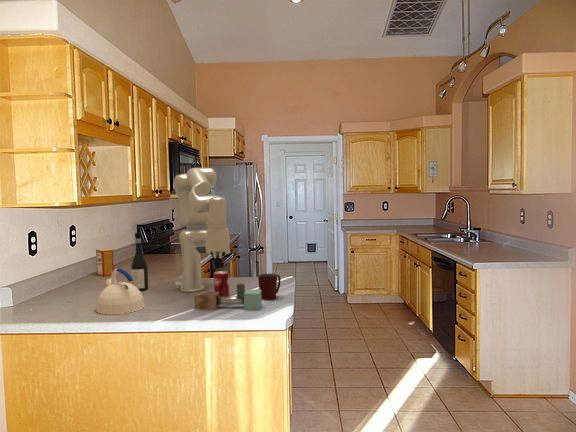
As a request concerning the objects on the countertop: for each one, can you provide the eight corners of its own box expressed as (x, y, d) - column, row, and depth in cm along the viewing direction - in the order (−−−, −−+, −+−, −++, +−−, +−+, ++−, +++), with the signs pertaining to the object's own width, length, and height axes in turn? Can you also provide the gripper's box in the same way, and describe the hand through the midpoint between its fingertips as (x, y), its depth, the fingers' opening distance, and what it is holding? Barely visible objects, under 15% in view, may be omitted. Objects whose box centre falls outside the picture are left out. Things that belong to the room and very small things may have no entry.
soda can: (217, 299, 214) (216, 274, 213) (212, 296, 220) (211, 271, 219) (231, 297, 217) (230, 272, 216) (226, 294, 224) (225, 270, 223)
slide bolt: (204, 305, 198) (203, 284, 198) (206, 303, 202) (205, 283, 201) (254, 305, 196) (253, 284, 196) (255, 303, 200) (254, 283, 199)
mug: (274, 294, 222) (273, 271, 221) (286, 297, 216) (285, 274, 215) (254, 298, 214) (254, 275, 213) (266, 301, 208) (266, 278, 207)
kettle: (128, 300, 216) (126, 263, 214) (153, 307, 202) (152, 267, 201) (87, 310, 200) (85, 269, 199) (111, 318, 187) (109, 274, 186)
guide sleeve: (194, 309, 197) (194, 295, 197) (198, 305, 204) (198, 291, 203) (216, 309, 196) (215, 295, 196) (219, 305, 203) (219, 291, 202)
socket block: (244, 309, 195) (243, 293, 194) (247, 305, 203) (246, 289, 202) (259, 309, 194) (258, 293, 194) (261, 305, 202) (261, 289, 202)
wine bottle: (143, 291, 233) (140, 233, 231) (129, 291, 234) (126, 233, 232) (151, 288, 240) (148, 232, 238) (137, 287, 242) (135, 232, 240)
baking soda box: (97, 274, 281) (95, 249, 280) (107, 273, 286) (106, 248, 285) (103, 276, 275) (102, 250, 274) (113, 275, 279) (112, 249, 278)
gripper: (198, 226, 194) (199, 268, 196) (233, 226, 193) (233, 268, 195) (203, 224, 201) (203, 264, 203) (236, 224, 200) (236, 265, 202)
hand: (218, 266), depth 199 cm, fingers closed
